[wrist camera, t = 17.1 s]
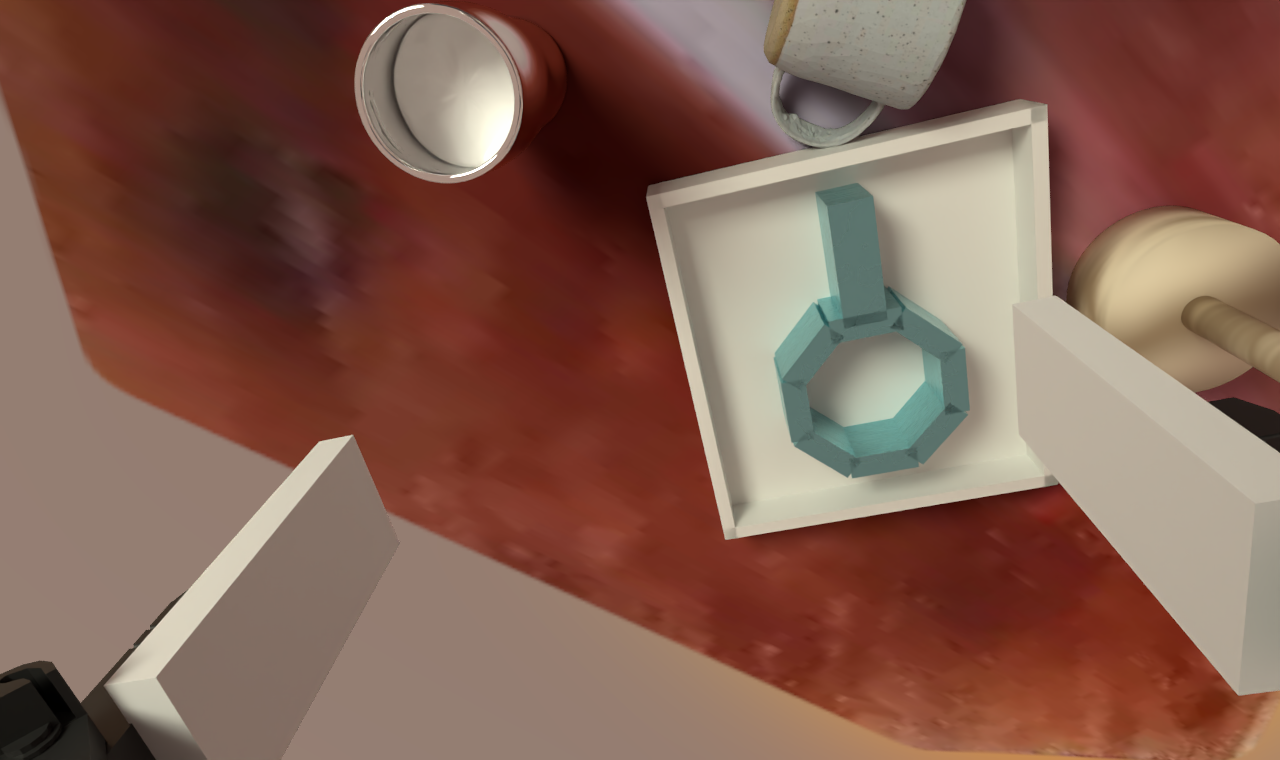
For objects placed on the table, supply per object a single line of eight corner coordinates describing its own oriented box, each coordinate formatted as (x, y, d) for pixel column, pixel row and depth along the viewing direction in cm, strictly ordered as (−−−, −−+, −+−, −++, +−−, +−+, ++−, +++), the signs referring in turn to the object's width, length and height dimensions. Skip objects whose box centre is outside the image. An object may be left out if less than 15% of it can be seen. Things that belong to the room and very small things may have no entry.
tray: (648, 185, 46) (646, 196, 43) (1019, 99, 43) (1047, 104, 40) (722, 510, 55) (725, 539, 51) (1034, 456, 52) (1058, 484, 49)
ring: (952, 426, 50) (973, 457, 47) (791, 455, 52) (799, 487, 48) (929, 166, 44) (951, 178, 40) (745, 207, 45) (751, 223, 42)
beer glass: (565, 0, 42) (510, -15, 28) (583, 134, 45) (541, 179, 31) (440, 16, 43) (326, 9, 29) (465, 147, 45) (373, 197, 32)
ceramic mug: (791, -87, 40) (814, -109, 33) (945, -49, 40) (999, -62, 33) (736, 124, 44) (745, 145, 37) (874, 157, 45) (909, 183, 38)
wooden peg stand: (1064, 225, 46) (1266, 327, 30) (1241, 188, 44) (1549, 274, 29) (1067, 373, 49) (1248, 532, 34) (1231, 343, 48) (1498, 494, 32)
